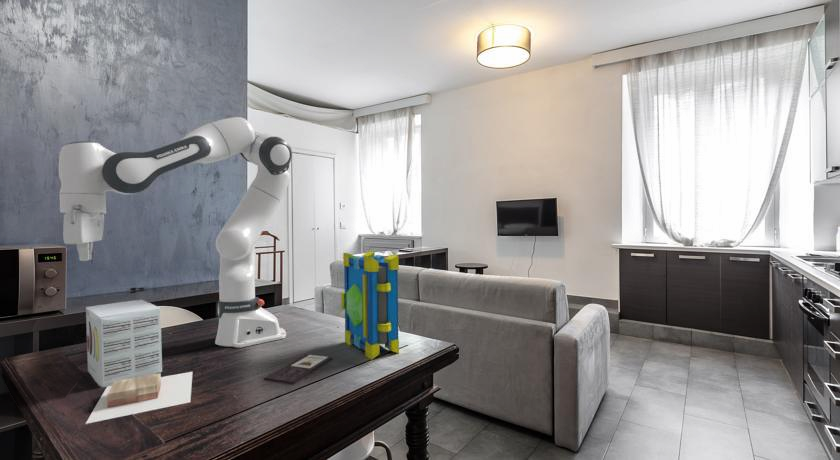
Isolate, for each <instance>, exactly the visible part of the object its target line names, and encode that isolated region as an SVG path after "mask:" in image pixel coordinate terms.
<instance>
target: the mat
mask: <svg viewBox="0 0 840 460" xmlns="http://www.w3.org/2000/svg"><path fill="white" fill-rule="evenodd" d="M192 383H193V371H188V372H183V373H177V374H172V375H165V376H161V387H160V391H159V395H158V398H157V399H151V400H146V401H141V402H136V403H131V404H126V405H121V406H116V407H110V408H107V393H108V392H109V390H110V388H111V386H112V385H110V386H106V387H105V390H104V392H103V393H102V395H101V396H100V398H99V400H98V402H97V403H96V405H95V407H94V408H93V410H92V412H91V414H90V415H89V417H88V419H87V420H86V422H85V425H88V424H92V423H93V424H94V423H98V422H103V421H107V420H111V419H117V418H122V417H125V416H131V415H135V414H140V413H145V412H150V411H155V410H160V409H164V408H169V407H174V406H179V405H185V404H188V403H191V399H192V398H191V397H192V387H193V385H192Z"/></svg>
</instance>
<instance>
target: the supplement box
mask: <svg viewBox="0 0 840 460" xmlns="http://www.w3.org/2000/svg"><path fill="white" fill-rule="evenodd" d="M161 317H162V314H161V307H160V306H159V305H155V304H153V303H151V302H149V301H146V300H144V299H136V300H135V299H134V300H128V301H119V302H113V303H106V304H98V305H93V306H92V305H91V306H85V320H86V321H85V322H86V325H85V327H86V355H87V357H86V358H87V372H88V373H89V374H90V376H91V378H92V379H93V380H94V381H95V383H96V384H97V386H99V387H100V388H107V386H112V385H113V383H114V381H118V380H124V379H129V378H135V377H141V376H147V375H153V374H159V373H162V372H163V355H162V354H163V353H162V349H163V348H162V346H163V345H162V318H161Z"/></svg>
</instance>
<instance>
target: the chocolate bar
mask: <svg viewBox="0 0 840 460" xmlns="http://www.w3.org/2000/svg"><path fill="white" fill-rule="evenodd" d="M330 361H333V357H332V356H331V357H330V356H323V355H321V356H320V355H316V354H315V355H313V354H304V355H303V356H301V357H299V358H297V359H295V360H294V361H291V362H290V363H288V364H286V365H284V366H283V367H280V368H279V369H277V370H275V371H274V372H272V373H270V374H268V375H266V376H264V377H263V380H264V381H271V382H276V383H282V384H289V385H294V384H296V383H297V382H299V381H301V380H302V379H304V378H305V377H308V375H310V374H311V373H313V372H315V371H316V370H318V369H320V368H321V367H323V366H325V365H326V364H328V363H329V362H330Z"/></svg>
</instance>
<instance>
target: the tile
mask: <svg viewBox="0 0 840 460" xmlns="http://www.w3.org/2000/svg"><path fill="white" fill-rule="evenodd" d="M161 373H162V372H160V373H156V374H152V375H147V376H141V377H135V378H129V379H124V380H118V381H114V383H113V385H110V386H111V388H110V390H109V392H108V393H107V408H110V407H116V406H121V405H126V404H131V403H136V402H141V401H146V400H151V399H157V398H158V395H159V391H160V387H161V377H162V376H161Z"/></svg>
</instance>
